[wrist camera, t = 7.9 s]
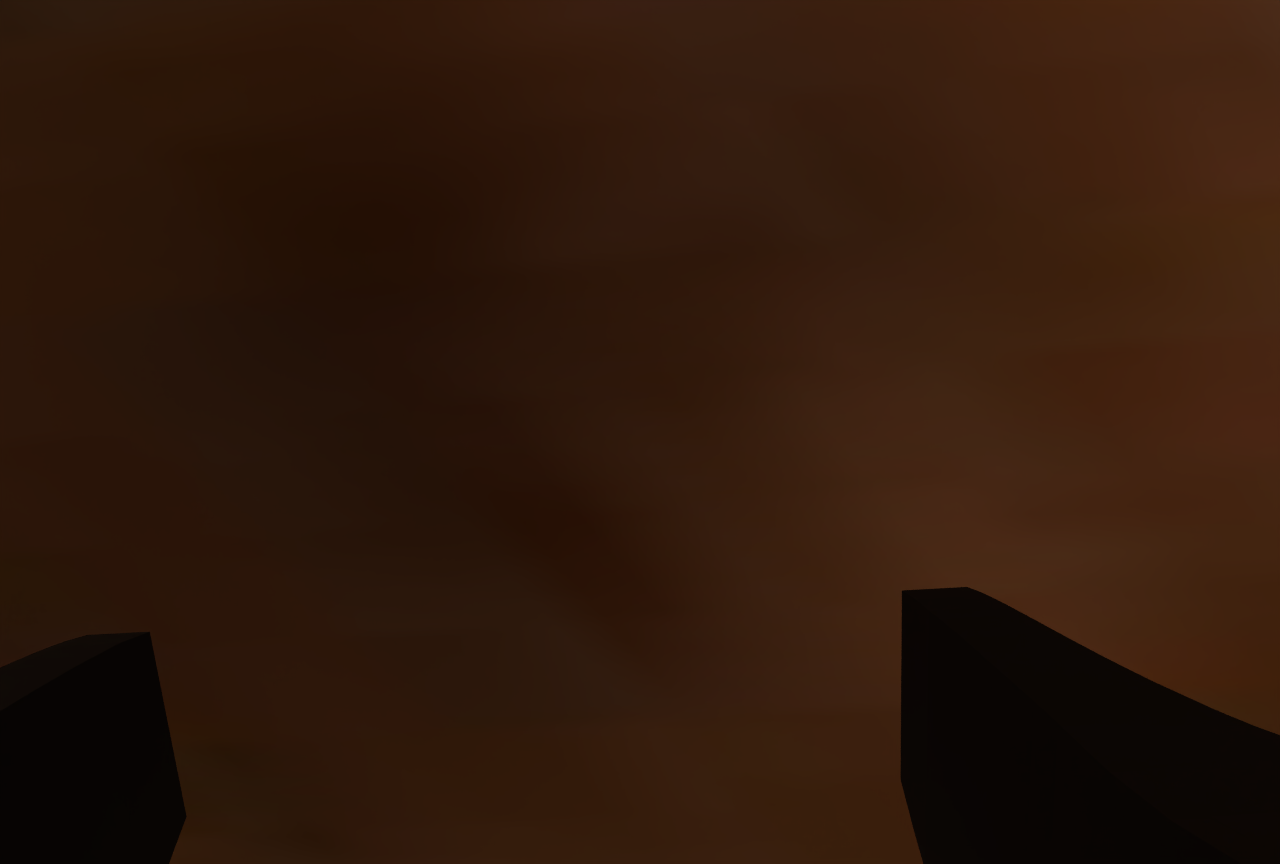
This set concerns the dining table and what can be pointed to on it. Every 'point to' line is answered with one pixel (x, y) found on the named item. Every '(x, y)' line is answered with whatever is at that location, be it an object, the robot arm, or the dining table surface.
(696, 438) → the dining table surface
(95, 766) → the robot arm
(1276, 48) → the dining table surface
